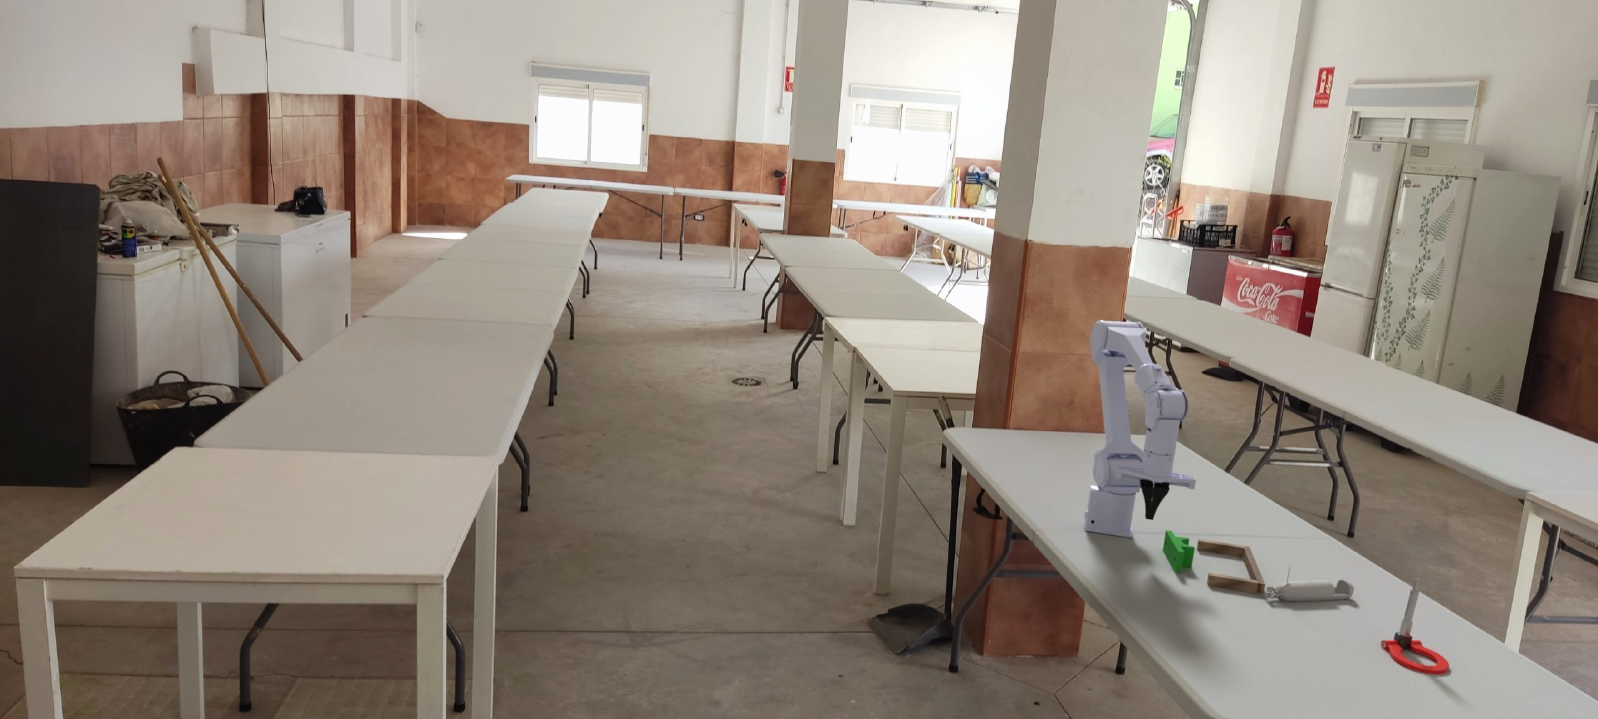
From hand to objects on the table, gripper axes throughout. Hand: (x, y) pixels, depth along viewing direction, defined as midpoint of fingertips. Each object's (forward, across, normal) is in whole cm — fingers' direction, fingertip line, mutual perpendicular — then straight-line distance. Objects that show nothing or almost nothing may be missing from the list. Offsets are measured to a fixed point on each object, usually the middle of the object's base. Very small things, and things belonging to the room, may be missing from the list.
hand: (1149, 517), depth 207 cm
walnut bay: (+8, +16, 0) cm, 17 cm away
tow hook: (+8, +42, -27) cm, 50 cm away
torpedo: (+9, +28, -8) cm, 31 cm away
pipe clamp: (+8, +6, 0) cm, 11 cm away
